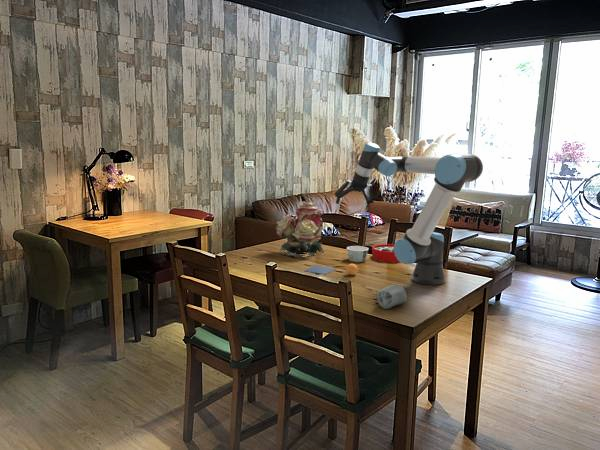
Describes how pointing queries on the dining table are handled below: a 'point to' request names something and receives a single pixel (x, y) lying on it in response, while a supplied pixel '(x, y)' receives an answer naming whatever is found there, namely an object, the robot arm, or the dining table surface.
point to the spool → (391, 296)
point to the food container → (357, 253)
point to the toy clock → (384, 253)
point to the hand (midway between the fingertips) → (349, 211)
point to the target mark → (320, 270)
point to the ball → (352, 269)
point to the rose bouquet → (302, 230)
